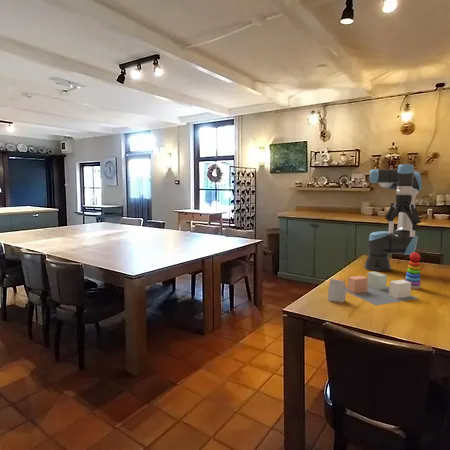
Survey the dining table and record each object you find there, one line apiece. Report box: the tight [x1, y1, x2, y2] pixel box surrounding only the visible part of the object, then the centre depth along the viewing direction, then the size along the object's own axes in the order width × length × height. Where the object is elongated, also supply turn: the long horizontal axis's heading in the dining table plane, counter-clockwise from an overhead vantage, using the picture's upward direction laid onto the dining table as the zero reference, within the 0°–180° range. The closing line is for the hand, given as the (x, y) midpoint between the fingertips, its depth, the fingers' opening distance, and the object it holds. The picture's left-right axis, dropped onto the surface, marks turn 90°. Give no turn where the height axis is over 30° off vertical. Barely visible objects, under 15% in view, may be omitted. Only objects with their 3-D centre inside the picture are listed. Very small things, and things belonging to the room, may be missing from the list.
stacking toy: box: [404, 251, 422, 290], centre depth 189 cm, size 8×8×19 cm
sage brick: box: [367, 271, 388, 290], centre depth 188 cm, size 8×5×7 cm, turn 21°
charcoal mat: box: [345, 285, 420, 306], centre depth 179 cm, size 26×26×1 cm
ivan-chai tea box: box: [327, 278, 347, 304], centre depth 169 cm, size 4×7×10 cm, turn 49°
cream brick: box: [389, 279, 412, 299], centre depth 175 cm, size 8×5×7 cm, turn 111°
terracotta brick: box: [347, 275, 368, 294], centre depth 182 cm, size 8×5×7 cm, turn 111°
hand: (401, 234), depth 192 cm, fingers open, 13 cm apart
